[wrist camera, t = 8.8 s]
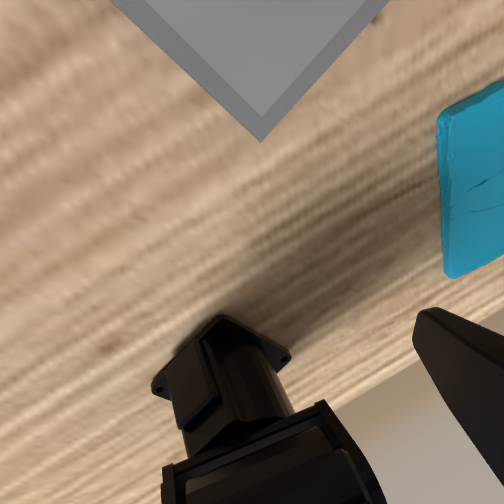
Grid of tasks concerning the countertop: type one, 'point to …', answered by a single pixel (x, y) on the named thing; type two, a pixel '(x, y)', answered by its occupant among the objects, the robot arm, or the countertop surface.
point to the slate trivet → (253, 47)
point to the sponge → (472, 180)
